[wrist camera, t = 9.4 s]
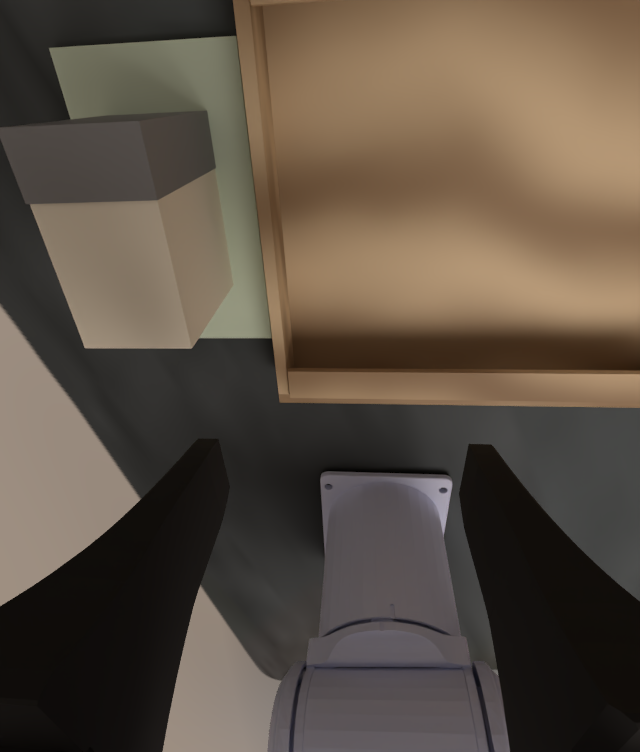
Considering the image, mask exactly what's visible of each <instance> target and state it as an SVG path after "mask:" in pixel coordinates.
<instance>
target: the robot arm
mask: <svg viewBox="0 0 640 752" xmlns="http://www.w3.org/2000/svg"><path fill="white" fill-rule="evenodd" d="M320 484H321V500H322V517H323V533H324V549H325V567H324V579H323V591H322V603H321V615H320V627H319V638H310V639H309V644H308V654H307V661H298V662H295V663H294V664H293V665H292V666H291V668H290V670H289V671H288V673H287V674H286V676H285V677H284V678H283V679H282V681H281V683H280V685H279V688H278V691H277V694H276V697H275V701H274V705H273V710H272V717H271V722H270V730H269V740H268V752H640V601H638V600H637V599H636V598H635V597H633V596H632V595H631V594H630V593H629V592H627V591H626V590H625V589H624V588H622V587H621V586H620V585H619V584H618V583H616V582H615V581H614V580H613V579H612V578H611V577H610V576H609V575H607V574H606V573H605V572H604V571H603V570H602V569H601V568H600V567H599V566H598V565H597V564H595V563H594V562H593V561H592V560H591V559H590V558H589V557H588V556H587V555H586V554H585V553H584V552H583V551H582V550H581V549H580V548H579V547H578V546H577V545H576V544H575V543H574V542H573V541H572V540H571V539H570V538H569V537H568V536H567V535H566V534H565V533H564V532H563V531H562V530H561V528H560V527H559V526H558V525H557V524H556V523H555V522H554V521H553V520H552V519H551V518H550V516H549V515H548V514H547V513H546V512H545V511H544V510H543V508H542V507H541V506H540V505H539V504H538V503H537V501H536V500H535V499H534V498H533V497H532V496H531V494H530V493H529V492H528V491H527V489H526V488H525V487H524V486H523V485H522V483H521V482H520V481H519V479H518V478H517V477H516V476H515V474H514V473H513V472H512V471H511V469H510V468H509V467H508V465H507V464H506V463H505V461H504V460H503V459H502V457H501V456H500V455H499V453H498V452H497V451H496V449H495V448H494V447H493V446H492V445H485V444H469V446H468V451H467V456H466V461H465V466H464V471H463V477H462V482H461V487H460V492H459V496H460V503H461V510H462V517H463V523H464V529H465V533H466V536H467V540H468V544H469V548H470V551H471V555H472V559H473V562H474V566H475V569H476V573H477V577H478V580H479V584H480V587H481V591H482V595H483V598H484V602H485V606H486V610H487V614H488V618H489V623H490V628H491V634H492V640H493V645H494V651H495V656H496V662H497V668H498V675H499V676H498V675H497V674H495V673H494V672H493V671H492V670H491V669H490V667H489V666H488V664H487V663H486V662H483V661H473V663H472V666H471V661H470V655H469V650H468V645H467V639H466V638H465V637H461V633H460V627H459V622H458V616H457V610H456V605H455V599H454V593H453V588H452V582H451V577H450V571H449V565H448V560H447V554H446V548H445V543H444V531H445V525H446V519H447V513H448V507H449V502H450V496H451V490H452V479H451V477H450V476H448V475H438V474H404V473H369V472H335V471H327V472H324V473H322V474H321V478H320ZM327 484H331V485H327ZM229 488H230V486H229V482H228V477H227V473H226V469H225V465H224V460H223V456H222V452H221V448H220V444H219V439H198V440H197V441H196V442H195V443H194V444H193V445H192V446H191V447H190V448H189V449H188V450H187V451H186V452H185V454H184V455H183V456H182V457H181V458H180V459H179V460H178V461H177V462H176V464H175V465H174V466H173V467H172V468H171V469H170V470H169V471H168V472H167V473H166V474H165V475H164V476H163V477H162V479H161V480H160V481H159V482H158V483H157V484H156V485H155V486H154V487H153V488H152V489H151V490H150V491H149V492H148V493H147V494H146V495H145V496H144V497H143V498H142V499H141V500H140V501H139V502H138V503H137V504H136V505H135V506H134V507H133V508H132V509H131V510H130V511H129V512H127V513H126V514H125V515H124V516H123V517H122V518H121V519H120V520H119V521H118V522H117V523H115V524H114V525H113V526H112V527H111V528H110V529H109V530H107V531H106V532H105V533H104V534H103V535H102V536H100V537H99V538H98V539H97V540H95V541H94V542H93V543H92V544H91V545H90V546H88V547H87V548H85V549H84V550H83V551H82V552H80V553H79V554H77V555H76V556H75V557H73V558H72V559H71V560H69V561H68V562H66V563H65V564H64V565H62V566H61V567H60V568H58V569H57V570H56V571H54V572H53V573H51V574H50V575H48V576H47V577H46V578H44V579H42V580H41V581H40V582H38V583H36V584H35V585H34V586H32V587H30V588H29V589H27V590H26V591H24V592H23V593H21V594H19V595H18V596H16V597H15V598H13V599H12V600H10V601H8V602H7V603H5V604H3V605H2V606H0V752H162V751H163V745H164V740H165V734H166V729H167V723H168V718H169V713H170V708H171V703H172V698H173V693H174V688H175V683H176V678H177V674H178V669H179V665H180V660H181V656H182V651H183V647H184V643H185V638H186V634H187V630H188V626H189V622H190V618H191V614H192V609H193V606H194V603H195V599H196V596H197V593H198V589H199V587H200V584H201V581H202V578H203V575H204V572H205V569H206V567H207V564H208V561H209V558H210V555H211V552H212V549H213V547H214V544H215V541H216V538H217V535H218V532H219V529H220V526H221V523H222V520H223V516H224V512H225V507H226V503H227V498H228V493H229ZM441 488H443V489H441ZM471 667H472V668H471Z"/></svg>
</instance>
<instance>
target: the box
mask: <svg viewBox="0 0 640 752" xmlns="http://www.w3.org/2000/svg"><path fill="white" fill-rule="evenodd" d="M0 139H1V142H2V144H3V147H4V149H5V152H6V155H7V157H8V160H9V162H10V165H11V167H12V170H13V173H14V175H15V178H16V180H17V183H18V185H19V188H20V191H21V193H22V196H23V198H24V201H25V203H26V204H30V206H31V209H32V211H33V214H34V217H35V219H36V222H37V224H38V227H39V230H40V232H41V235H42V237H43V240H44V243H45V245H46V248H47V250H48V253H49V256H50V258H51V261H52V263H53V266H54V269H55V271H56V274H57V276H58V279H59V282H60V284H61V287H62V289H63V292H64V295H65V297H66V300H67V302H68V305H69V308H70V310H71V313H72V315H73V318H74V321H75V323H76V326H77V328H78V331H79V334H80V336H81V339H82V341H83V344H84V347H85V348H171V349H192V348H193V346H194V345H195V343H196V342H197V340H198V338H199V337H200V335H201V334H202V332H203V331H204V329H205V328H206V326H207V325H208V323H209V322H210V320H211V319H212V317H213V316H214V314H215V313H216V311H217V310H218V308H219V306H220V305H221V303H222V302H223V300H224V299H225V297H226V296H227V294H228V293H229V291H230V290H231V288H232V287H233V285H234V284H233V278H232V272H231V266H230V259H229V253H228V247H227V240H226V234H225V228H224V222H223V215H222V209H221V203H220V196H219V190H218V184H217V178H216V171H215V168H216V164H215V157H214V151H213V145H212V138H211V132H210V126H209V119H208V113H207V111H188V112H167V113H147V114H127V115H106V116H97V117H88V118H79V119H70V120H61V121H52V122H43V123H34V124H25V125H17V126H8V127H0Z"/></svg>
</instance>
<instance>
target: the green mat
mask: <svg viewBox="0 0 640 752" xmlns="http://www.w3.org/2000/svg"><path fill="white" fill-rule="evenodd" d="M49 50H50V54H51V57H52V60H53V63H54V67H55V70H56V73H57V76H58V80H59V83H60V86H61V90H62V93H63V96H64V99H65V103H66V106H67V109H68V112H69V116H70V119H79V118H88V117H97V116H106V115H127V114H147V113H167V112H188V111H207V113H208V119H209V126H210V132H211V138H212V145H213V151H214V157H215V164H216V168H215V171H216V178H217V184H218V190H219V196H220V203H221V209H222V215H223V222H224V228H225V234H226V240H227V247H228V253H229V259H230V266H231V272H232V278H233V284H234V285H233V287H232V288H231V290H230V291H229V293H228V294H227V296H226V297H225V299H224V300H223V302H222V303H221V305H220V306H219V308H218V310H217V311H216V313H215V314H214V316H213V317H212V319H211V320H210V322H209V323H208V325H207V326H206V328H205V329H204V331H203V332H202V334H201V335H200V337H199V338H272V332H271V323H270V315H269V306H268V298H267V289H266V280H265V272H264V263H263V255H262V246H261V238H260V229H259V220H258V212H257V203H256V195H255V186H254V178H253V169H252V160H251V152H250V143H249V135H248V126H247V118H246V109H245V100H244V92H243V83H242V75H241V66H240V58H239V49H238V40H237V36H225V37H210V38H195V39H179V40H164V41H149V42H133V43H118V44H103V45H87V46H72V47H57V48H49Z"/></svg>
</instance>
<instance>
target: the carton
mask: <svg viewBox="0 0 640 752" xmlns="http://www.w3.org/2000/svg"><path fill="white" fill-rule="evenodd" d="M233 6H234V15H235V23H236V32H237V40H238V49H239V58H240V66H241V75H242V83H243V92H244V100H245V109H246V118H247V126H248V135H249V143H250V152H251V160H252V169H253V178H254V186H255V195H256V203H257V212H258V220H259V229H260V238H261V246H262V255H263V263H264V272H265V280H266V289H267V298H268V306H269V315H270V323H271V332H272V340H273V349H274V357H275V366H276V375H277V383H278V392H279V400H280V402H281V403H350V404H419V405H488V406H558V407H627V408H640V0H233Z"/></svg>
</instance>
